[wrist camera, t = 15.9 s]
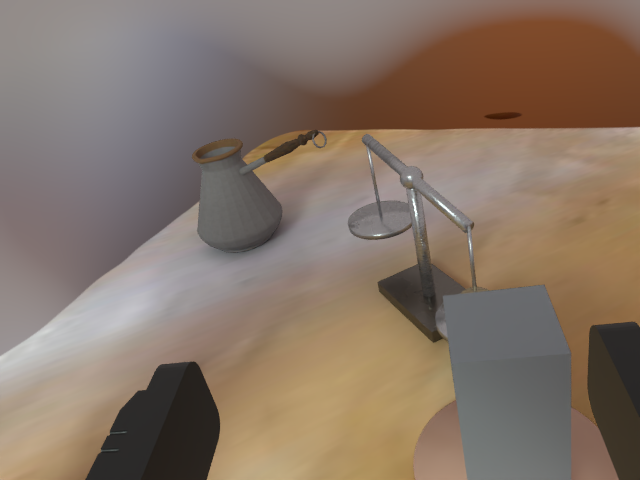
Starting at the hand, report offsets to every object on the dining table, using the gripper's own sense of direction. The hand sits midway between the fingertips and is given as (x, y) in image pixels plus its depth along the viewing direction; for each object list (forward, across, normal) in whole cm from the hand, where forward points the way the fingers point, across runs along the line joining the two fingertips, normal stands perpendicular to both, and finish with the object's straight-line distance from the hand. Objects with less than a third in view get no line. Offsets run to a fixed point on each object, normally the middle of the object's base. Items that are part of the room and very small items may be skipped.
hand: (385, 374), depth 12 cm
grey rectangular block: (+17, -5, +26) cm, 31 cm away
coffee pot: (+53, +18, +28) cm, 63 cm away
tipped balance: (+36, 0, +27) cm, 45 cm away
